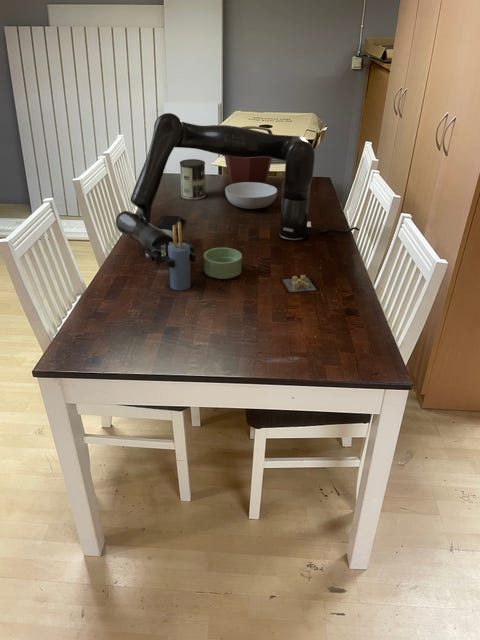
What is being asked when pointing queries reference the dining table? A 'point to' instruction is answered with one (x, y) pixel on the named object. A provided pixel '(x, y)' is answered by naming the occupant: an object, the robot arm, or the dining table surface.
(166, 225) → the phone
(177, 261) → the breadstick jar
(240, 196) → the serving bowl
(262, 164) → the bucket
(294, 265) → the dining table surface
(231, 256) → the bowl
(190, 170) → the coffee can
